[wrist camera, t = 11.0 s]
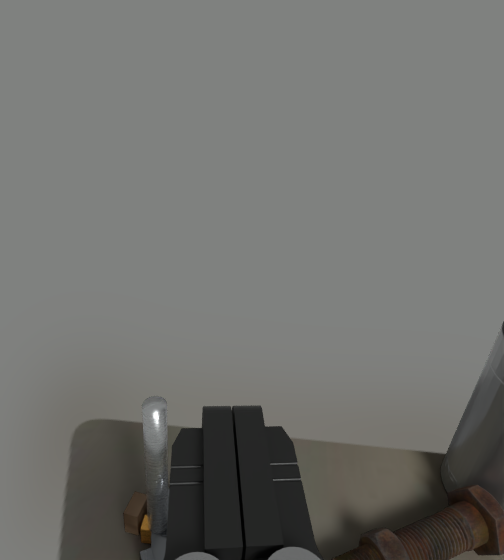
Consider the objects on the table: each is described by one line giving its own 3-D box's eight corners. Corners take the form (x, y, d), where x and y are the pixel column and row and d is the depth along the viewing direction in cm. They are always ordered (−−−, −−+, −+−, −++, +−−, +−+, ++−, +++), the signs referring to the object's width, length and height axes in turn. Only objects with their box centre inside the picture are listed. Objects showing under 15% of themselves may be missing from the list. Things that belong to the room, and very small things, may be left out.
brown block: (149, 513, 39) (148, 495, 37) (138, 535, 37) (137, 517, 36) (136, 509, 39) (135, 491, 38) (125, 531, 37) (123, 512, 36)
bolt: (323, 599, 36) (465, 533, 41) (360, 647, 31) (515, 565, 36) (313, 529, 36) (458, 471, 41) (349, 566, 31) (507, 496, 36)
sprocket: (282, 490, 41) (305, 366, 34) (279, 634, 32) (310, 503, 24) (161, 475, 42) (158, 349, 35) (120, 613, 32) (104, 477, 25)
